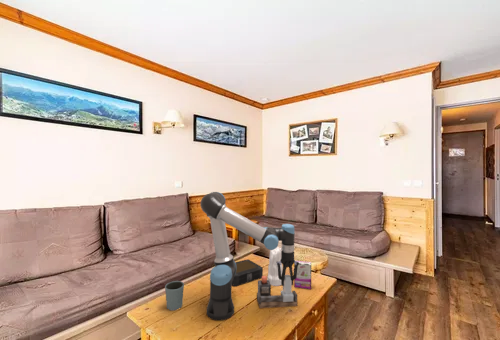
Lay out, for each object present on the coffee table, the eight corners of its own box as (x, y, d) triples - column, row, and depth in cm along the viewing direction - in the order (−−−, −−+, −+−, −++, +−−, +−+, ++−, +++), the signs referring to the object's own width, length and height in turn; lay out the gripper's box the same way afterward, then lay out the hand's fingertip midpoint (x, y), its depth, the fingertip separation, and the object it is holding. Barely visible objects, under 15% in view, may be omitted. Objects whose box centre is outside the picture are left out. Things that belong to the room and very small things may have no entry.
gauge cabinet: (259, 298, 141) (259, 285, 141) (257, 293, 147) (257, 280, 147) (270, 297, 142) (270, 284, 142) (268, 292, 148) (268, 280, 148)
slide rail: (258, 308, 131) (259, 298, 131) (256, 300, 139) (256, 291, 139) (298, 305, 134) (298, 296, 134) (293, 298, 142) (293, 289, 142)
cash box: (234, 287, 154) (234, 276, 154) (220, 276, 170) (220, 265, 170) (264, 278, 168) (264, 267, 168) (248, 268, 185) (248, 258, 185)
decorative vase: (282, 286, 156) (283, 249, 156) (266, 285, 158) (267, 248, 158) (283, 279, 166) (283, 244, 166) (268, 277, 168) (269, 243, 168)
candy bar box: (311, 286, 157) (311, 261, 157) (311, 289, 153) (311, 264, 153) (294, 283, 160) (294, 260, 160) (293, 287, 155) (294, 262, 155)
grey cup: (187, 304, 134) (187, 283, 134) (173, 313, 125) (173, 291, 125) (175, 299, 139) (175, 279, 139) (160, 307, 130) (161, 286, 130)
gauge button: (262, 283, 143) (262, 278, 143) (261, 281, 146) (261, 275, 146) (267, 283, 143) (267, 278, 143) (266, 281, 147) (266, 275, 146)
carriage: (283, 302, 134) (283, 278, 134) (280, 296, 140) (281, 273, 140) (293, 301, 135) (293, 278, 135) (290, 296, 141) (290, 273, 141)
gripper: (276, 253, 133) (275, 294, 133) (303, 252, 135) (302, 293, 135) (273, 249, 140) (272, 288, 140) (298, 248, 142) (298, 286, 142)
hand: (287, 290), depth 137 cm, fingers closed on carriage, 3 cm apart
